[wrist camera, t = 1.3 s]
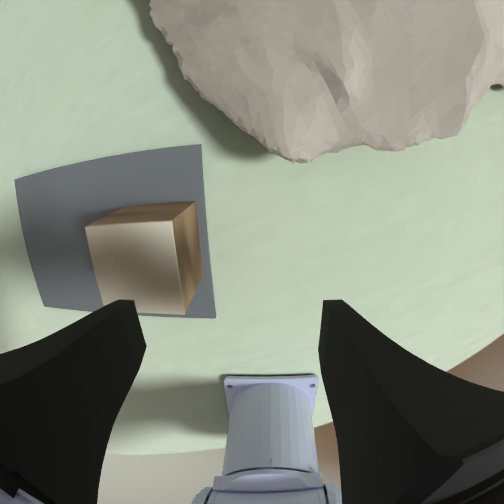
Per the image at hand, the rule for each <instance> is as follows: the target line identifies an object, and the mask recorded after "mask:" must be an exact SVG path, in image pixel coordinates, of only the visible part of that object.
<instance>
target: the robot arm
mask: <svg viewBox="0 0 504 504" xmlns="http://www.w3.org/2000/svg"><path fill="white" fill-rule="evenodd" d="M145 350H146V343H145V340H144V336H143V333H142V329H141V325H140V322H139V318H138V314H137V310H136V306H135V302H134V300H122V299H119V300H116V301H114V302H112V303H109V304H107V305H105V306H103V307H102V308H100V309H98V310H96V311H94V312H92V313H91V314H89V315H87V316H85V317H83V318H82V319H80V320H78V321H76V322H74V323H73V324H71V325H69V326H67V327H65V328H63V329H61V330H59V331H57V332H55V333H53V334H51V335H49V336H47V337H45V338H43V339H41V340H39V341H36V342H34V343H31V344H29V345H27V346H24V347H21V348H18V349H15V350H12V351H9V352H6V353H2V354H0V504H97V498H98V488H99V481H100V475H101V469H102V464H103V460H104V456H105V452H106V448H107V444H108V441H109V437H110V434H111V431H112V427H113V424H114V422H115V420H116V417H117V415H118V413H119V410H120V408H121V406H122V404H123V402H124V400H125V398H126V396H127V394H128V392H129V390H130V388H131V386H132V383H133V381H134V379H135V377H136V375H137V373H138V371H139V368H140V366H141V363H142V360H143V356H144V353H145ZM318 352H319V360H320V368H321V375H322V379H323V383H324V387H325V391H326V395H327V399H328V403H329V406H330V410H331V414H332V418H333V422H334V426H335V431H336V437H337V443H338V452H339V463H340V476H341V490H340V489H339V488H338V487H336V486H334V484H333V483H325V484H324V485H323V480H322V473H321V472H319V473H318V465H317V455H316V445H315V437H314V428H313V420H312V417H313V412H314V406H315V401H316V395H317V389H318V382H319V380H318V377H317V376H316V375H304V376H272V377H245V376H227V377H225V378H224V389H225V395H226V401H227V408H228V414H229V427H228V434H227V442H226V449H225V456H224V464H223V471H222V476H215V478H214V483H213V487H205V488H204V489H202V490H201V492H200V493H198V494H197V495H196V496H195V498H194V500H193V501H192V504H504V392H502V391H498V390H493V389H490V388H487V387H484V386H481V385H477V384H474V383H471V382H469V381H466V380H463V379H461V378H458V377H456V376H454V375H452V374H449V373H447V372H445V371H443V370H441V369H439V368H437V367H435V366H433V365H431V364H429V363H427V362H425V361H424V360H422V359H420V358H418V357H417V356H415V355H413V354H412V353H410V352H408V351H407V350H405V349H404V348H402V347H401V346H399V345H398V344H397V343H395V342H394V341H392V340H391V339H390V338H388V337H387V336H386V335H384V334H383V333H382V332H380V331H379V330H378V329H377V328H375V327H374V326H373V325H372V324H370V323H369V322H368V321H367V320H366V319H364V318H363V317H362V316H361V315H360V314H358V313H357V312H356V311H355V310H354V309H353V308H351V307H350V306H349V305H348V304H347V303H345V302H344V301H343V300H323V309H322V320H321V330H320V339H319V348H318ZM311 384H312V385H311ZM230 385H231V386H230Z"/></svg>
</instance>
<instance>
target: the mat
mask: <svg viewBox="0 0 504 504" xmlns="http://www.w3.org/2000/svg"><path fill="white" fill-rule="evenodd" d="M15 188H16V195H17V202H18V208H19V214H20V219H21V224H22V229H23V234H24V239H25V243H26V247H27V251H28V255H29V259H30V263H31V266H32V270H33V273H34V277H35V280H36V283H37V287H38V290H39V293H40V296H41V299H42V302H43V304H44V306H45V307H53V308H62V309H70V310H80V311H90V312H94V311H96V310H98V309H100V308H102V307H103V306H104V305H103V302H102V298H101V295H100V291H99V287H98V284H97V280H96V276H95V272H94V268H93V263H92V259H91V254H90V250H89V245H88V240H87V235H86V230H85V227H86V226H88V225H90V224H91V223H93V222H95V221H97V220H99V219H101V218H103V217H105V216H107V215H109V214H111V213H113V212H115V211H117V210H119V209H121V208H123V207H125V206H134V205H146V204H159V203H173V202H189V201H196V208H197V219H198V230H199V240H200V250H201V259H202V268H203V276H202V278H201V281H200V283H199V285H198V287H197V289H196V291H195V293H194V295H193V298H192V300H191V302H190V304H189V306H188V308H187V311H186V313H185V315H177V314H154V313H137V314H138V315H141V316H159V317H182V318H216V311H215V302H214V294H213V284H212V275H211V265H210V255H209V245H208V233H207V222H206V210H205V197H204V183H203V167H202V151H201V144H200V145H189V146H180V147H171V148H163V149H155V150H148V151H141V152H134V153H128V154H122V155H116V156H111V157H105V158H100V159H95V160H90V161H85V162H81V163H76V164H72V165H67V166H63V167H59V168H55V169H51V170H47V171H43V172H40V173H36V174H32V175H29V176H25V177H22V178H19V179H15Z"/></svg>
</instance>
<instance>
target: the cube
mask: <svg viewBox="0 0 504 504" xmlns="http://www.w3.org/2000/svg"><path fill="white" fill-rule="evenodd" d="M85 230H86V235H87V240H88V245H89V250H90V254H91V259H92V263H93V268H94V272H95V276H96V280H97V284H98V287H99V291H100V295H101V298H102V302H103V305H104V306H105V305H107V304H109V303H112V302H114V301H116V300H119V299H122V300H134V302H135V306H136V310H137V313H154V314H177V315H185V313H186V311H187V308H188V306H189V304H190V302H191V300H192V298H193V295H194V293H195V291H196V289H197V287H198V285H199V283H200V281H201V278H202V276H203V268H202V259H201V250H200V240H199V230H198V219H197V208H196V201H189V202H173V203H159V204H146V205H134V206H125V207H123V208H121V209H119V210H117V211H115V212H113V213H111V214H109V215H107V216H105V217H103V218H101V219H99V220H97V221H95V222H93V223H91V224H90V225H88V226H86V227H85Z"/></svg>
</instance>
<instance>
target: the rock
mask: <svg viewBox="0 0 504 504" xmlns="http://www.w3.org/2000/svg"><path fill="white" fill-rule="evenodd" d="M149 6H150V8H151V11H150V13H149V14H150V15H151V17H152V20H153V23H154V25H155V26H156V28H157V29H158V30H159V31H160V32H161V33H162V35H163V36H164V38H165V40H166V43H167V44H169V45H171V46H172V51H173V53H174V54H175V56H176V58H177V61H178V67H179V69H180V70H181V72H182V74H183V76H184V79H185V80H187V81H188V82H190V83H191V84H192V86H193V88H194V89H195V90H196V91H197V92H198V93H199V94H200V97H201V98H202V99H204V100H205V101H207V102H209V103H210V104H212V105H214V106H216V107H217V108H218V110H220V111H222V112H224V114H225V115H226V116H227V117H228V118H229V119H230V120H231V121H232V122H233V123H234V124H236V125H237V126H238V127H239V128H240V129H241V130H242V131H244V132H246V133H248V134H250V135H251V136H253V137H254V138H255V139H256V140H258V141H259V142H260V143H261V144H262V145H263V146H264V147H265V148H266V149H267V150H269V151H270V152H272V153H275V154H277V155H278V156H280V157H282V158H284V159H286V160H288V161H290V162H292V163H295V162H296V161H297V162H299V163H308V162H310V161H312V160H314V159H315V158H316V157H318V156H319V155H321V154H324V153H327V152H332V153H337V152H339V151H341V150H343V149H346V148H348V147H352V146H359V145H362V144H363V145H368V146H370V147H371V148H373V149H375V150H383V151H401V150H404V149H405V148H406V147H407V146H409V147H411V146H412V145H419V144H421V143H422V142H423V141H425V140H431V139H433V138H439V139H445V138H447V137H451V136H455V135H457V134H458V133H459V132H460V131H461V130H462V128H463V127H464V125H465V124H466V121H467V119H468V117H469V114H470V112H471V109H472V107H473V106H474V105H475V104H476V103H477V102H478V101H479V100H480V99H481V98H482V97H483V96H484V95H485V94H486V93H487V91H488V89H489V88H490V86H491V85H495V84H500V85H501V86H502V87H503V88H504V0H150V3H149Z"/></svg>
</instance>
